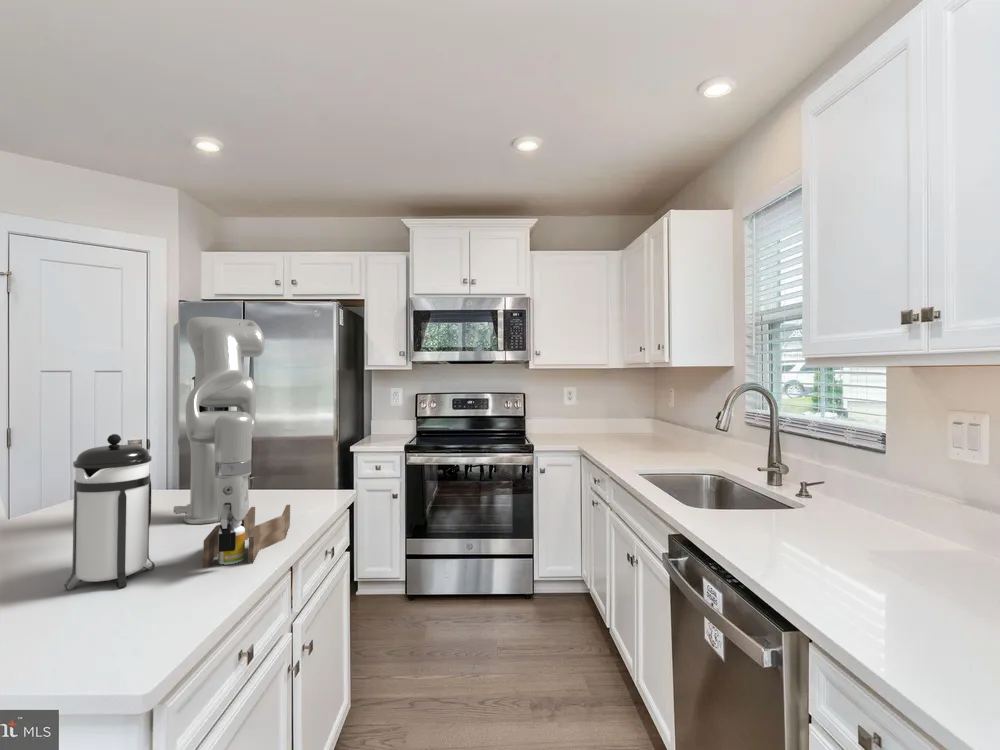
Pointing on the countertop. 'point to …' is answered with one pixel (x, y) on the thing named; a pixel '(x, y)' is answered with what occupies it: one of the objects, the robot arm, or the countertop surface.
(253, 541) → the channel
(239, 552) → the supplement bottle
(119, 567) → the coffee press
